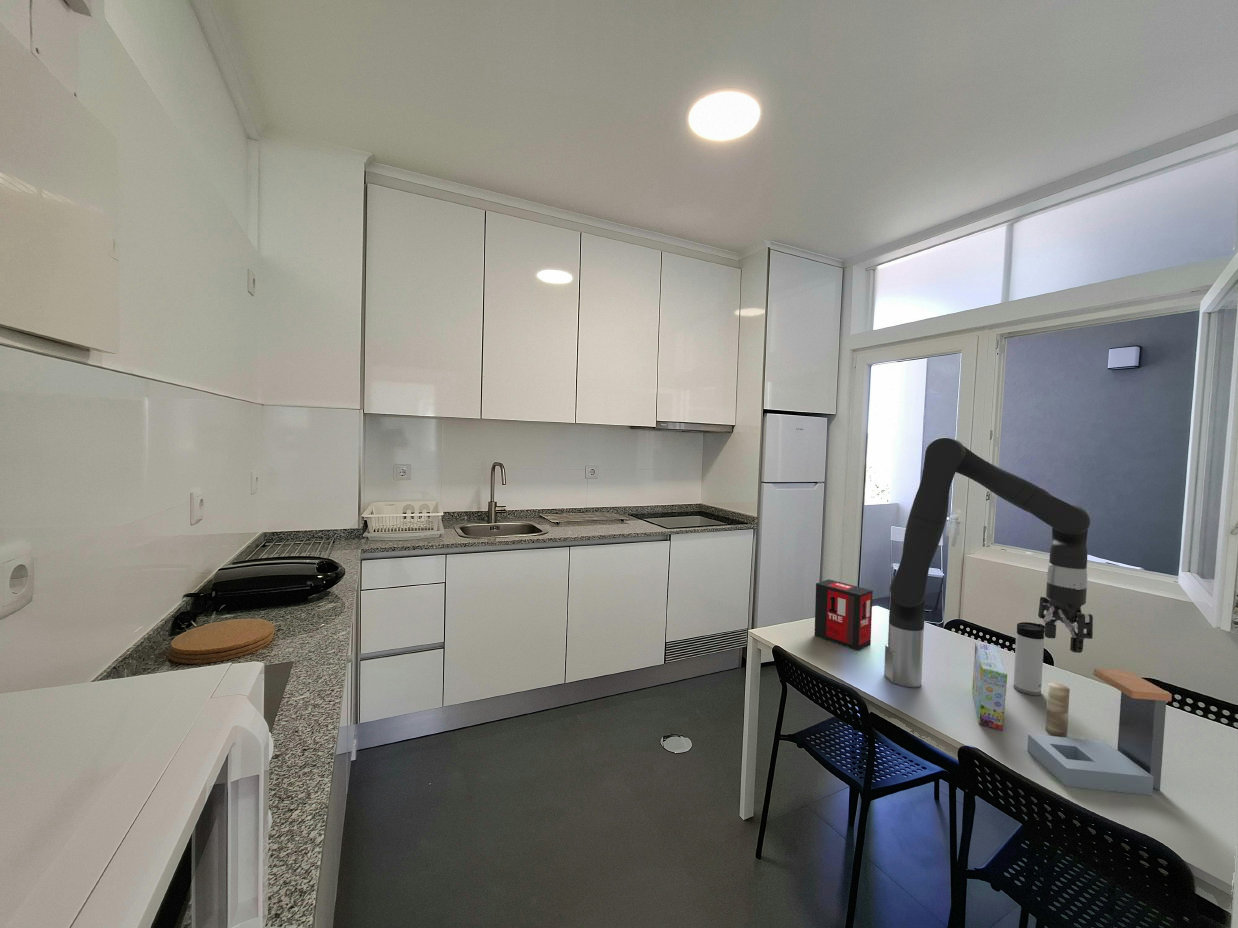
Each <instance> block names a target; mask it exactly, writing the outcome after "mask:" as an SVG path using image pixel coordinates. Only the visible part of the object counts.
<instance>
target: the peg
mask: <svg viewBox="0 0 1238 928" xmlns="http://www.w3.org/2000/svg"><path fill="white" fill-rule="evenodd" d="M1047 685H1048V686H1047V701H1046V718H1045V731H1046V733H1048V734H1050V735H1051V736H1055V737H1066V738H1068V727H1069V726H1068V721H1069V710H1070V708H1069V706H1070V693H1071V692H1070V691H1071V689H1070V687H1068V686H1066V685H1064V684H1062V683H1057V682H1048V684H1047Z"/></svg>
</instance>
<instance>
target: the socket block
mask: <svg viewBox="0 0 1238 928" xmlns="http://www.w3.org/2000/svg"><path fill="white" fill-rule="evenodd" d="M1026 749H1027V751H1028V753H1030V754H1031V755H1032V756H1033V757H1034V758H1035V759H1036V760H1037V761H1038V762H1039V763H1040V764H1041V765H1042V766H1044V767H1045V768H1046V769H1047V770H1048V771H1049V772H1050V773H1051V774H1052V775H1053V776H1054V777H1055V778H1057V780H1059V782H1061V783H1062V785H1064V786H1065V787H1069V788H1081V789H1089V790H1101V791H1107V792H1108V791H1109V792H1117V793H1127V794H1135V795H1143V796H1144V795H1146V796H1153V794H1154V793H1153V791H1154V790H1153V780H1154V777H1153V776H1152V775H1150V774H1149V773H1148V772H1146V771H1145V770H1144V769H1142V768H1141V767H1140V766H1138V765H1137V764H1135V763H1134V762H1133V761H1131V760H1130V759H1129V758H1127V757H1126V756H1125V755H1123V754H1122V753H1121V752H1119V751H1118V750H1117V749H1116V748H1115V747H1114V746H1112V745H1111V744H1110V743H1108V742H1107V741H1105V740H1099V739H1095V740H1094V739H1087V738H1076V737H1075V738H1074V737H1057V736H1054V735H1044V734H1042V735H1041V734H1032V733H1028V735H1027V748H1026Z"/></svg>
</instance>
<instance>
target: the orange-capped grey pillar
mask: <svg viewBox="0 0 1238 928" xmlns="http://www.w3.org/2000/svg"><path fill="white" fill-rule="evenodd" d="M1092 676H1095V677H1096V678H1097V679H1099V680H1101V681H1103V682H1105V683H1106V684H1108V685H1109V686H1111V687H1113V688H1115V689H1116V690H1118V691H1120V706H1119V718H1118V719H1119V720H1118V736H1117V747H1116V748H1117V749H1116V750H1118V751H1119V752H1121V753H1122V754H1123V755H1125V756H1126V757H1127V758H1129V759H1130V760H1131V761H1133V762H1134V763H1135V764H1137V765H1138V766H1140V767H1141V768H1142V769H1144V770H1145V771H1146V772H1148V773H1149V774H1150V775H1152V776H1153V777H1154V780H1153V791H1160V790H1161V782H1162V765H1163V754H1164V751H1163V750H1164V740H1165V739H1164V738H1165V726H1166V725H1165V723H1166V713H1167V710H1166V709H1167V702H1172V696H1173V695H1172V693H1170V692H1169V691H1167V690H1164V689H1162V688H1160V686H1157V685H1155V684H1153V683H1152V682H1150V681H1149V680H1146V679H1144V678H1142V677H1140V676H1138V675H1136V674H1135V673H1133V672H1131V671H1129V670H1118V669H1116V670H1115V669H1103V668H1093V675H1092Z"/></svg>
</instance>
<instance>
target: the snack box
mask: <svg viewBox="0 0 1238 928" xmlns="http://www.w3.org/2000/svg"><path fill="white" fill-rule="evenodd" d="M974 644H975V645H974V657H973V658H974V659H973V670H972V671H973V674H972V686H971V691H972V695H973V699H974V700H973V701H974V705H975V710H976V716H977V722H978V724H979V725H983V726H985V727H989V728H993V729H996V730H999V731H1003V728H1004V718H1005V706H1006V694H1007V683H1008V673H1007V670H1006V668H1005V665H1004V662H1003V660H1002V657H1001V654H1000V651H999V649H998V645H996V644H991V643H990V644H989V643H986V642H980V641H975V643H974Z"/></svg>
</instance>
